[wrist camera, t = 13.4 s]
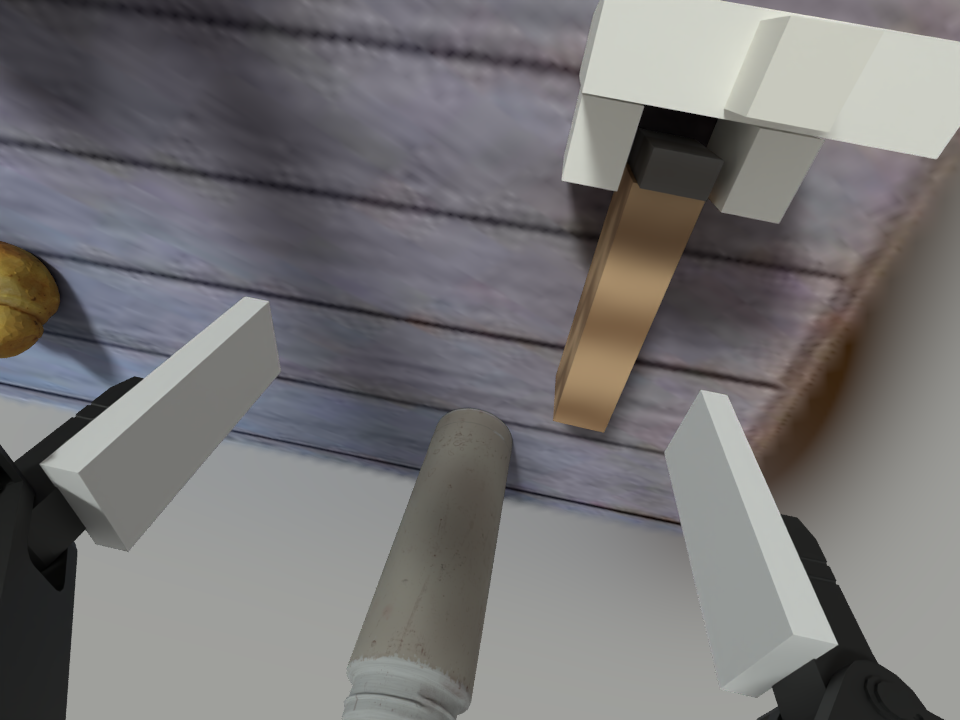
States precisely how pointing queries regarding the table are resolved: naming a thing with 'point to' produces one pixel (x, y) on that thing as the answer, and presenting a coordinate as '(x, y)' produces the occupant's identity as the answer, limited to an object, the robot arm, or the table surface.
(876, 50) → the white block with nub
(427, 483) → the thermos bottle
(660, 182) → the tan piece
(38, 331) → the bread roll
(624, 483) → the table surface
